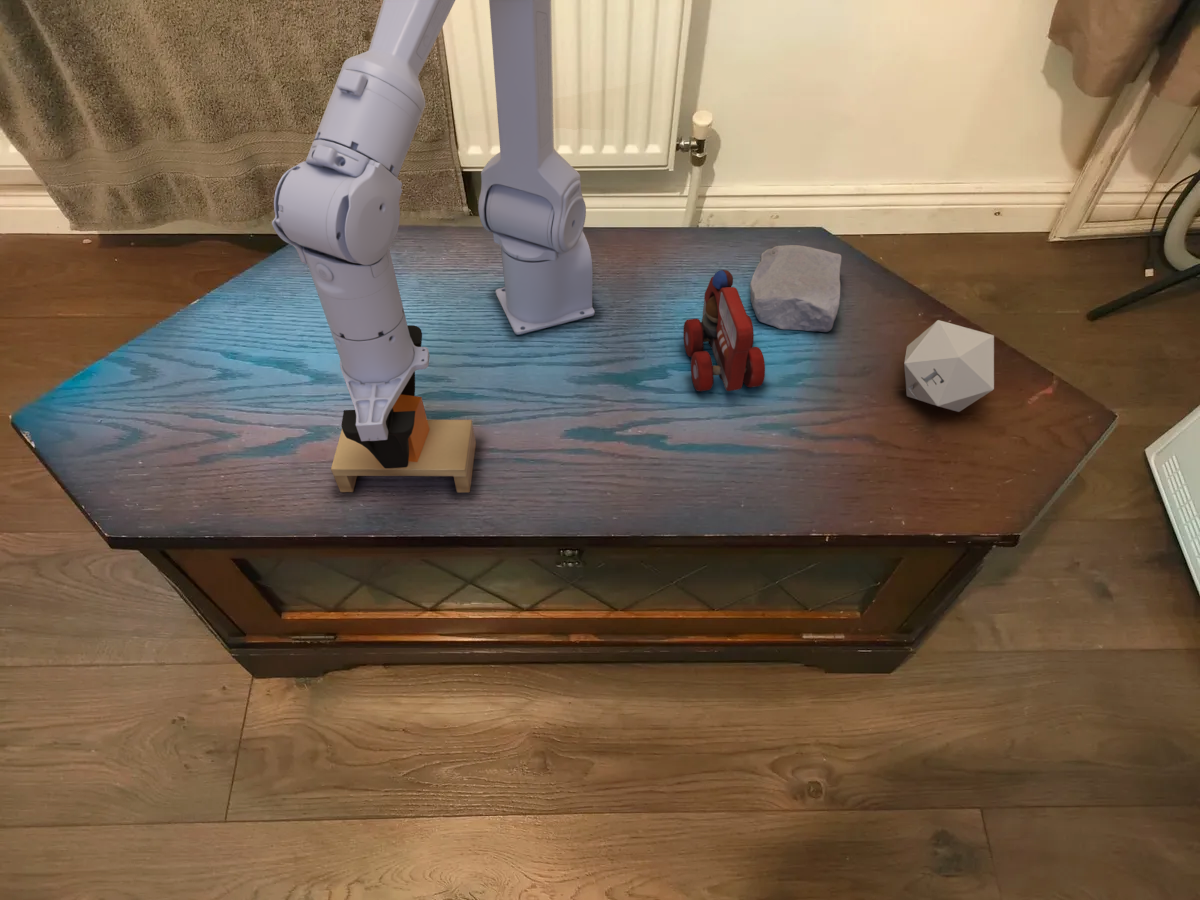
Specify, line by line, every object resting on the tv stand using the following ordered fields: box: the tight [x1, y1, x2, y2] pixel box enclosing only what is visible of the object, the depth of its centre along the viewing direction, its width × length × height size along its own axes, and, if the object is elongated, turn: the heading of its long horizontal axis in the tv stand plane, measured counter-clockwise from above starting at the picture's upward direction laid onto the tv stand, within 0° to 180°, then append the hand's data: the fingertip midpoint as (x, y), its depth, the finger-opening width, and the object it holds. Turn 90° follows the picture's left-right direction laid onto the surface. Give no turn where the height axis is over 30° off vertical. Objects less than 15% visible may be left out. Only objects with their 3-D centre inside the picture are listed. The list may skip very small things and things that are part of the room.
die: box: [903, 319, 995, 413], centre depth 78 cm, size 8×9×10 cm
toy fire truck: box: [683, 269, 766, 392], centre depth 79 cm, size 7×12×10 cm, turn 6°
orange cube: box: [393, 394, 429, 462], centre depth 69 cm, size 4×4×4 cm
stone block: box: [749, 244, 842, 333], centre depth 89 cm, size 12×5×10 cm
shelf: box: [330, 419, 477, 493], centre depth 72 cm, size 12×6×4 cm, turn 90°
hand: (399, 431), depth 70 cm, fingers open, 7 cm apart
